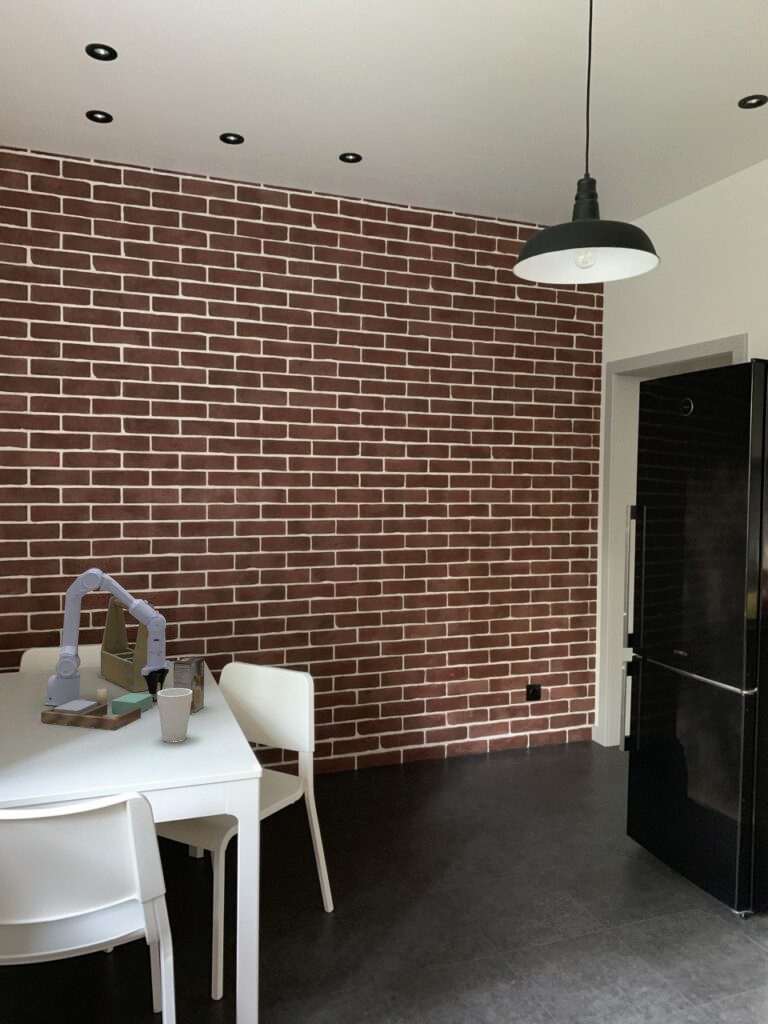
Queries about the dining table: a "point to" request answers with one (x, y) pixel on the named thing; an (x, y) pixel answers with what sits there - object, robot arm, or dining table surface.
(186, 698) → the foam cup
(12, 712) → the dining table surface
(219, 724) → the dining table surface
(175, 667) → the coffee box
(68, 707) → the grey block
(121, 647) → the caddy
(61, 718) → the tray
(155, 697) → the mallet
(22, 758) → the dining table surface
